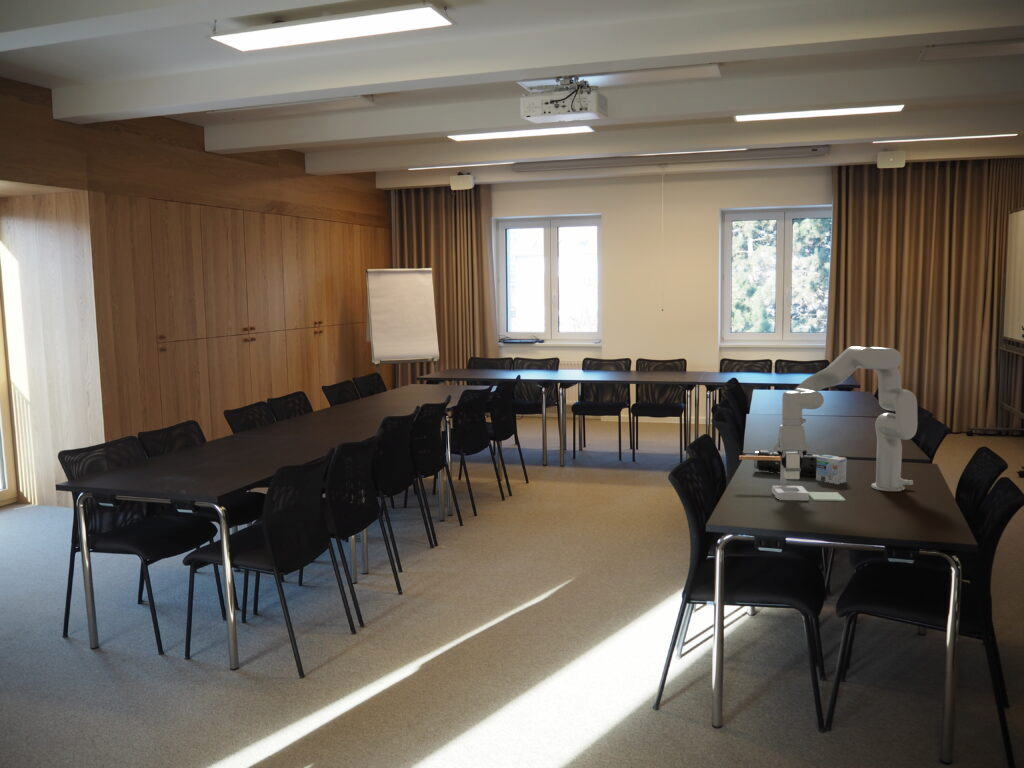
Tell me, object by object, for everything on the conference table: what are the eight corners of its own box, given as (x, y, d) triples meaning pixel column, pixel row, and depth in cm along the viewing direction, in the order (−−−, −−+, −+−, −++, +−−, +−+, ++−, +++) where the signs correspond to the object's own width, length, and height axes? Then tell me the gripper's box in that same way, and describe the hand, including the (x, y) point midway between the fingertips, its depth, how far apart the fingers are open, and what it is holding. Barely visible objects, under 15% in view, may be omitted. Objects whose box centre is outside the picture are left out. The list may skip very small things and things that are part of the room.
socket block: (796, 487, 358) (797, 459, 356) (808, 500, 336) (809, 470, 335) (767, 487, 359) (768, 459, 358) (777, 499, 338) (778, 470, 336)
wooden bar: (787, 459, 357) (787, 454, 356) (788, 461, 354) (788, 456, 353) (739, 458, 360) (739, 454, 359) (739, 460, 357) (739, 455, 356)
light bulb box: (815, 480, 371) (816, 456, 370) (823, 478, 375) (824, 454, 374) (838, 484, 363) (839, 459, 361) (846, 482, 367) (847, 457, 366)
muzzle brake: (818, 479, 373) (818, 456, 372) (752, 473, 386) (753, 451, 384) (820, 475, 382) (821, 452, 380) (756, 469, 394) (757, 447, 393)
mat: (837, 493, 346) (837, 492, 346) (845, 501, 335) (845, 499, 335) (807, 493, 348) (807, 491, 348) (813, 500, 336) (813, 499, 336)
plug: (797, 475, 345) (797, 451, 344) (800, 479, 339) (800, 454, 338) (782, 476, 345) (783, 451, 344) (785, 479, 340) (785, 454, 338)
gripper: (812, 420, 342) (811, 464, 344) (768, 420, 344) (768, 464, 346) (816, 423, 335) (815, 468, 337) (771, 423, 337) (771, 468, 339)
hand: (791, 466), depth 342 cm, fingers closed on plug, 5 cm apart
